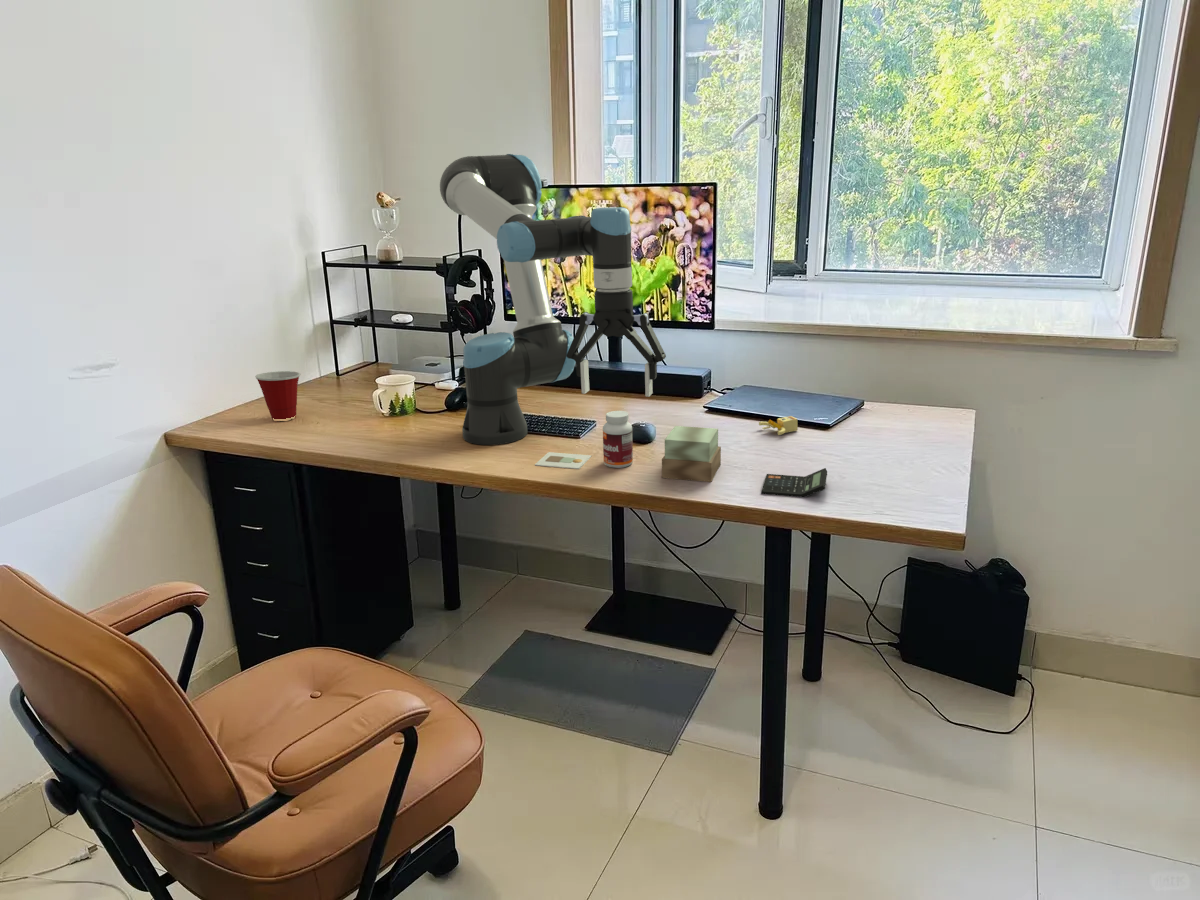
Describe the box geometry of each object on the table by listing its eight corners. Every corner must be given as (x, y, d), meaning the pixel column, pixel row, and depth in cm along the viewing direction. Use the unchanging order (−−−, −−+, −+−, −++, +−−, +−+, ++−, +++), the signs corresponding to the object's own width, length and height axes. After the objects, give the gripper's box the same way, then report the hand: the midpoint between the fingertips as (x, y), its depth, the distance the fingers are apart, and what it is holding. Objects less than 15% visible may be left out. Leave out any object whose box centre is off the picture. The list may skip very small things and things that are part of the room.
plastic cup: (316, 415, 222) (309, 370, 219) (283, 426, 214) (276, 380, 210) (286, 410, 227) (279, 366, 223) (253, 422, 218) (245, 376, 214)
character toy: (756, 416, 197) (786, 411, 200) (756, 429, 198) (785, 425, 201) (773, 425, 190) (804, 421, 192) (773, 439, 191) (804, 434, 193)
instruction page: (534, 465, 181) (534, 464, 181) (548, 452, 188) (548, 451, 188) (579, 469, 178) (579, 467, 178) (591, 456, 185) (591, 455, 185)
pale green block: (662, 477, 171) (661, 440, 169) (673, 461, 180) (673, 425, 178) (711, 482, 168) (711, 443, 166) (720, 464, 177) (721, 428, 175)
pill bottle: (597, 464, 180) (595, 414, 177) (618, 456, 184) (617, 407, 181) (618, 471, 176) (616, 420, 172) (639, 463, 180) (638, 413, 176)
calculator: (766, 477, 170) (767, 463, 169) (826, 482, 167) (827, 467, 166) (761, 495, 162) (761, 480, 161) (824, 500, 159) (825, 485, 158)
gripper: (547, 291, 168) (553, 395, 175) (670, 292, 161) (672, 401, 168) (560, 285, 175) (566, 386, 182) (679, 286, 167) (680, 391, 174)
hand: (616, 393), depth 175 cm, fingers open, 13 cm apart
